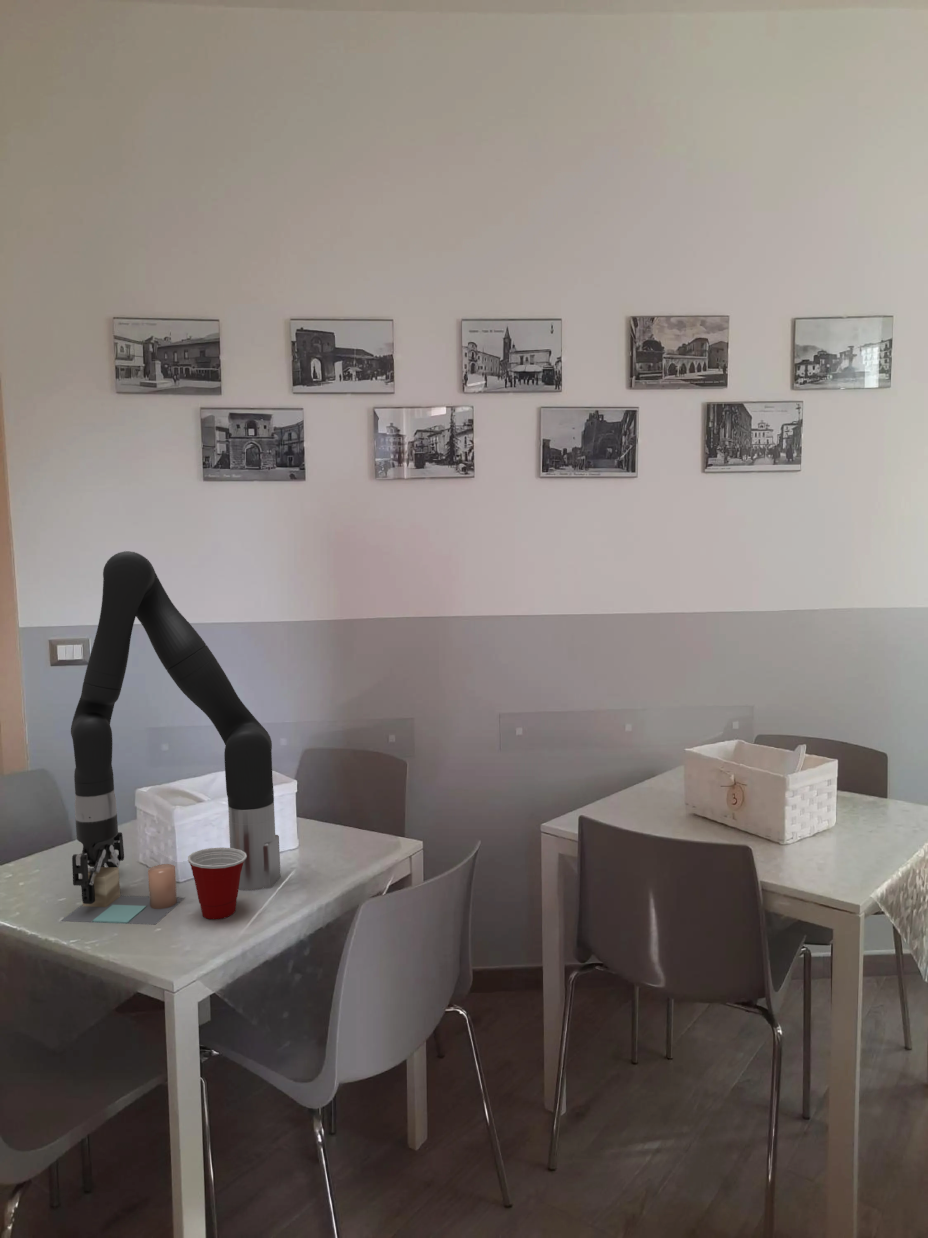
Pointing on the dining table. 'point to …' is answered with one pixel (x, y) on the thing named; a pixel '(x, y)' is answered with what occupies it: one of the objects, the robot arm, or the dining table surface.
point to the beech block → (105, 887)
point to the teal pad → (119, 914)
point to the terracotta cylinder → (162, 886)
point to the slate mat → (144, 917)
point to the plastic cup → (217, 880)
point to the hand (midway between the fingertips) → (101, 894)
